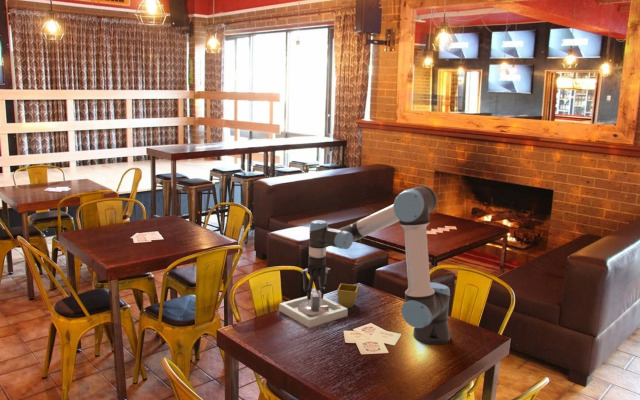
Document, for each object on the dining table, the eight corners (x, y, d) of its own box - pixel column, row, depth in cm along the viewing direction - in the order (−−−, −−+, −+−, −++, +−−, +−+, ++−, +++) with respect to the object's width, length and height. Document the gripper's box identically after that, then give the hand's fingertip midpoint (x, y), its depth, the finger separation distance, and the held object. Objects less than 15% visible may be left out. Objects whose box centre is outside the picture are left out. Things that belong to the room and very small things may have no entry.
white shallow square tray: (347, 315, 256) (347, 308, 255) (309, 327, 242) (309, 319, 241) (316, 300, 272) (316, 293, 272) (279, 310, 258) (279, 302, 258)
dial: (325, 303, 265) (325, 286, 263) (331, 315, 252) (332, 297, 250) (295, 304, 262) (296, 287, 260) (300, 317, 249) (301, 298, 247)
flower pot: (354, 310, 263) (356, 291, 261) (336, 308, 264) (337, 289, 262) (357, 303, 271) (358, 285, 269) (339, 301, 273) (340, 283, 271)
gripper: (332, 252, 254) (329, 301, 259) (296, 253, 249) (294, 303, 254) (337, 257, 247) (334, 307, 252) (301, 259, 242) (299, 310, 247)
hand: (314, 305), depth 253 cm, fingers closed on dial, 3 cm apart
